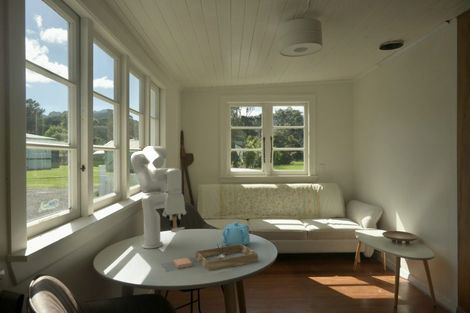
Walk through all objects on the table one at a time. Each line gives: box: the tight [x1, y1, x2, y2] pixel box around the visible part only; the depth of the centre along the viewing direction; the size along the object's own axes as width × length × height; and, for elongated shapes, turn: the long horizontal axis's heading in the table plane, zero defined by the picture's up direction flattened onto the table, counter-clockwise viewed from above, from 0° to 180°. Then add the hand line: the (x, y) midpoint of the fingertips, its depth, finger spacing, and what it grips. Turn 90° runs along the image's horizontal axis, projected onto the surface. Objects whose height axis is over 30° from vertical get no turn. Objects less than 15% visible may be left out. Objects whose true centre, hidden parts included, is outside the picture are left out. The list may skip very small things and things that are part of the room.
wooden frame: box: [194, 244, 259, 271], centre depth 149 cm, size 19×27×4 cm
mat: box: [160, 257, 200, 273], centre depth 142 cm, size 12×16×1 cm
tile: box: [172, 257, 192, 269], centre depth 142 cm, size 2×7×8 cm
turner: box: [170, 215, 185, 233], centre depth 151 cm, size 11×5×8 cm, turn 25°
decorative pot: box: [221, 221, 251, 246], centre depth 175 cm, size 16×16×14 cm
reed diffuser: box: [216, 243, 227, 260], centre depth 150 cm, size 10×7×20 cm
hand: (174, 226), depth 154 cm, fingers closed on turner, 2 cm apart
